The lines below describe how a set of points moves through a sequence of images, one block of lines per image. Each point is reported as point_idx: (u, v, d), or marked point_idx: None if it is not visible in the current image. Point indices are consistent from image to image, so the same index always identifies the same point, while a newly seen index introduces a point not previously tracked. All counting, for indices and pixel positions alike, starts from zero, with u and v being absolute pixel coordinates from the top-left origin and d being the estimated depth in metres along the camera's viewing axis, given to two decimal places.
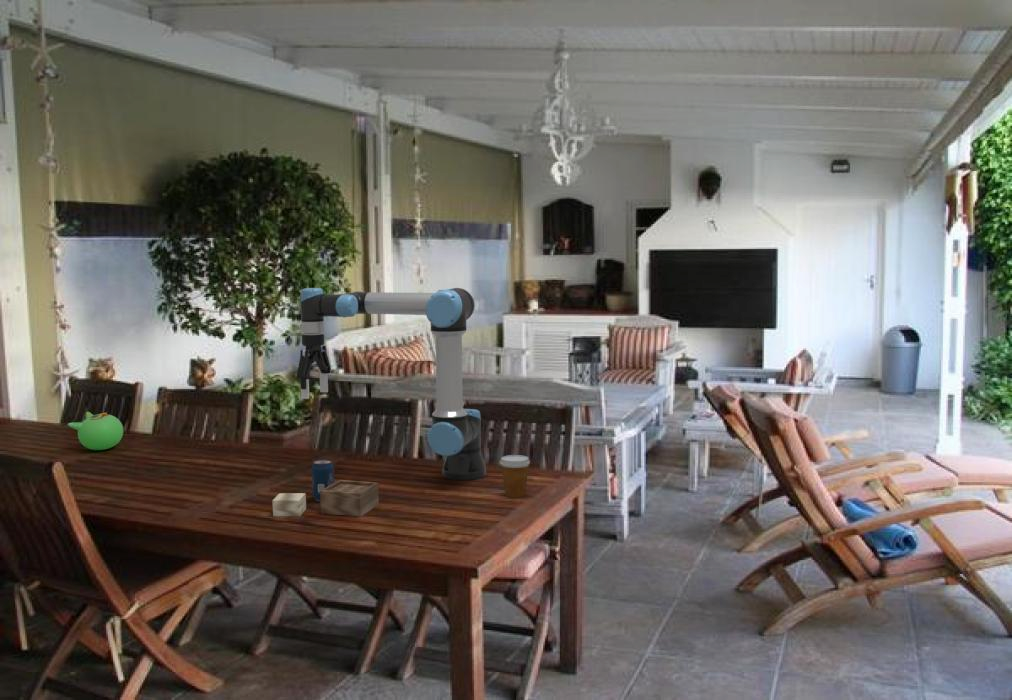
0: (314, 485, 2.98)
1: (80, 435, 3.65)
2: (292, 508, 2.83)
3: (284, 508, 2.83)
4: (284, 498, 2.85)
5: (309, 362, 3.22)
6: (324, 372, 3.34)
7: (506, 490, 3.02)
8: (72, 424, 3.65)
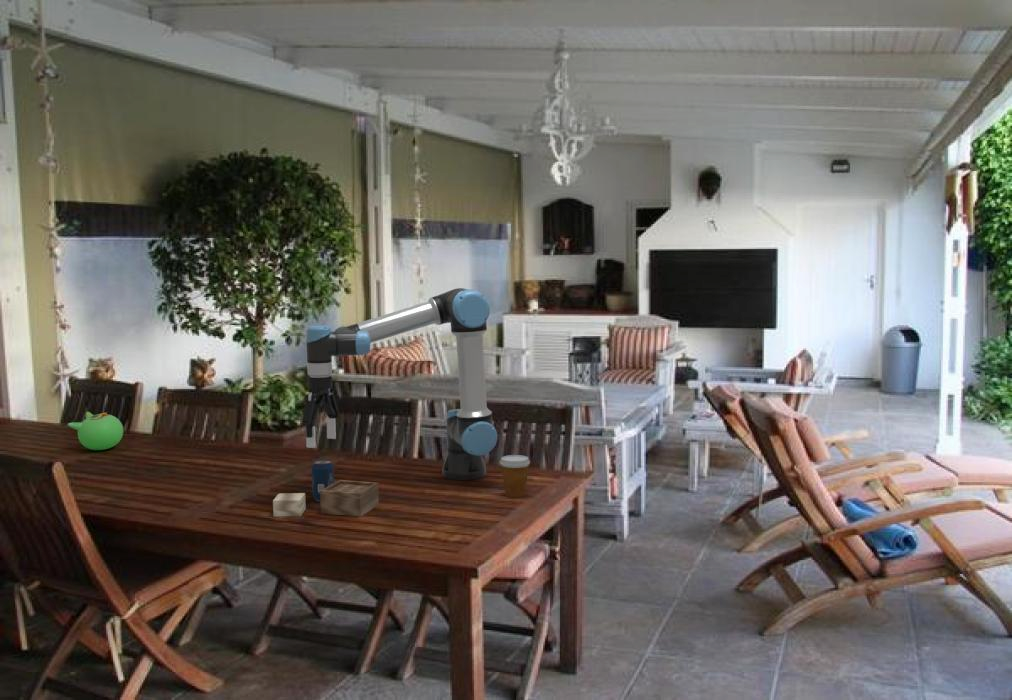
0: (314, 485, 2.98)
1: (80, 435, 3.65)
2: (293, 508, 2.83)
3: (284, 508, 2.83)
4: (284, 498, 2.85)
5: (315, 407, 2.93)
6: (332, 417, 3.05)
7: (506, 490, 3.02)
8: (72, 424, 3.65)
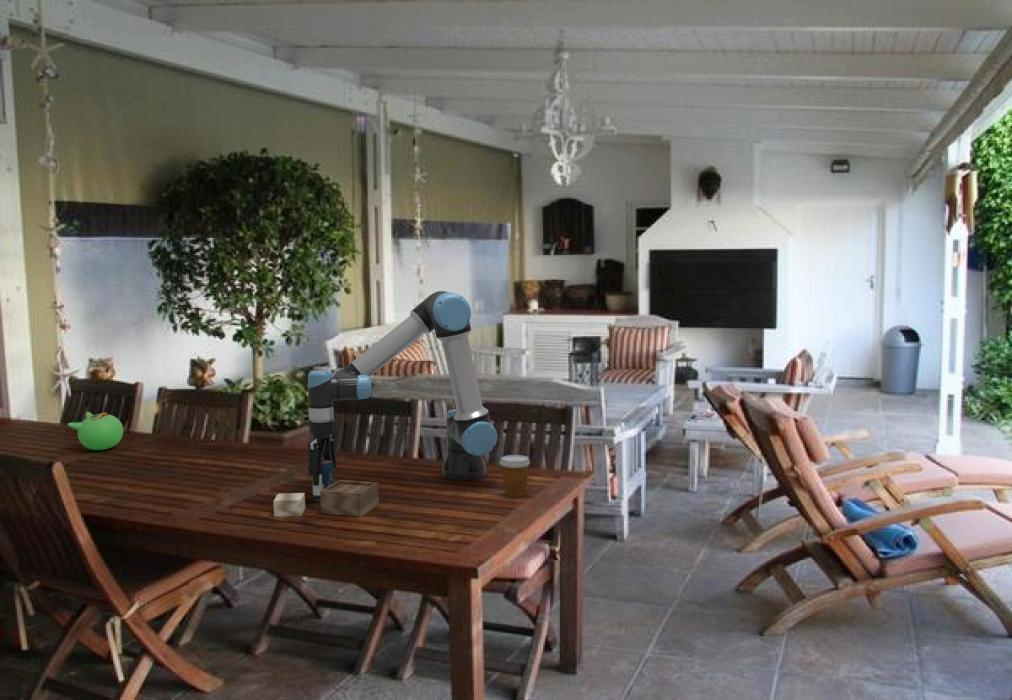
0: None
1: (80, 435, 3.65)
2: (293, 508, 2.83)
3: (285, 508, 2.83)
4: (284, 498, 2.85)
5: (319, 454, 2.96)
6: None
7: (506, 490, 3.02)
8: (72, 424, 3.65)
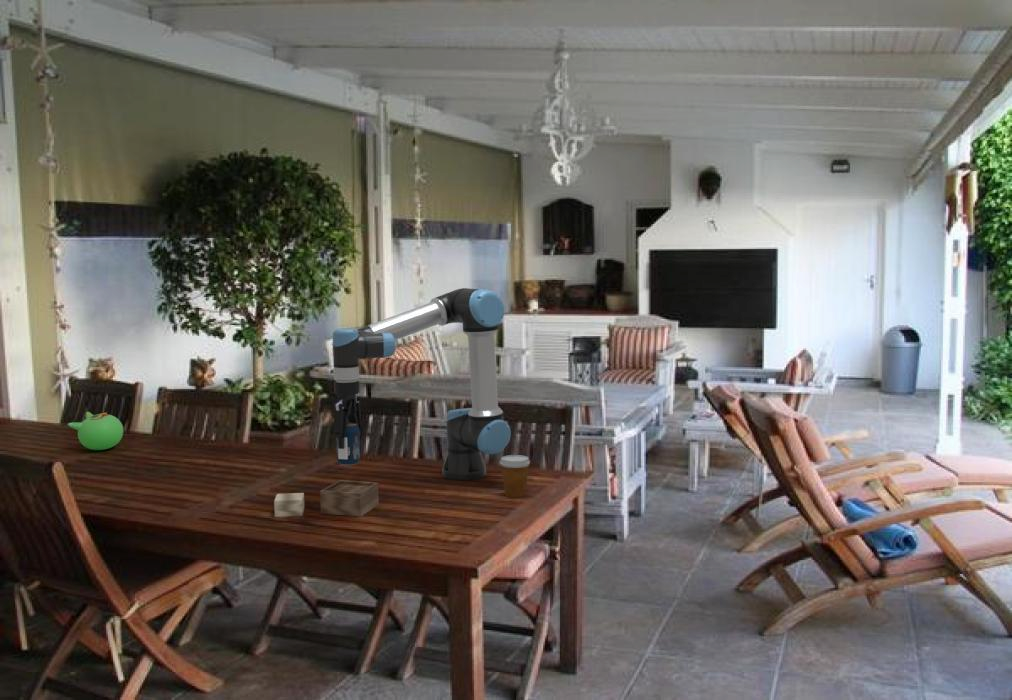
0: None
1: (80, 435, 3.65)
2: (294, 508, 2.83)
3: (286, 508, 2.83)
4: (285, 498, 2.85)
5: (344, 416, 2.83)
6: None
7: (506, 490, 3.02)
8: (72, 424, 3.65)
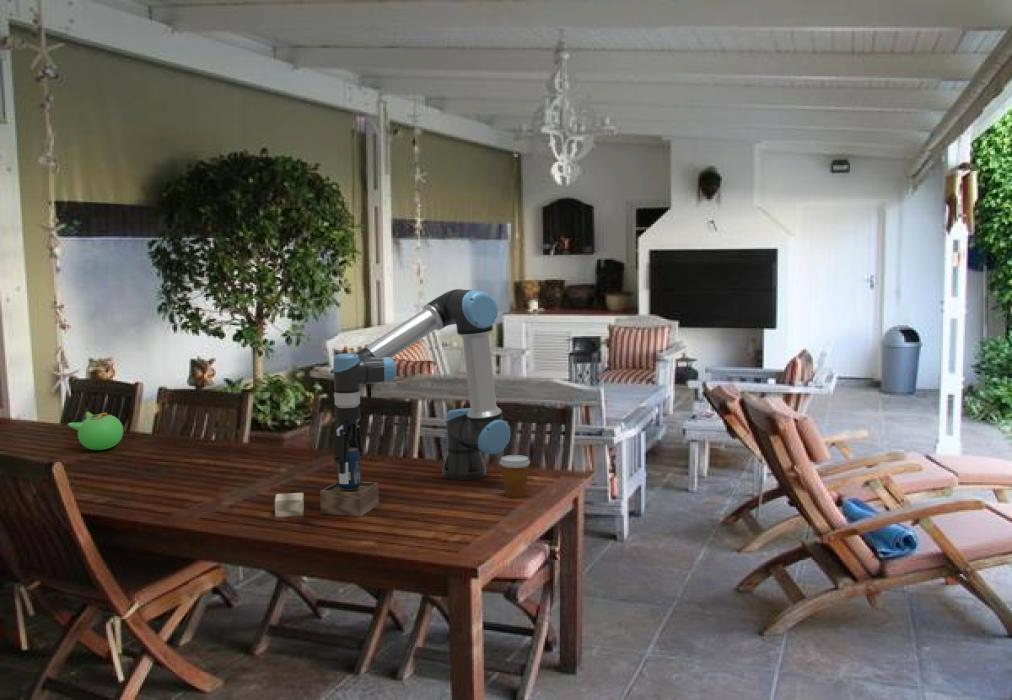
0: None
1: (80, 435, 3.65)
2: (295, 508, 2.83)
3: (286, 508, 2.83)
4: (285, 498, 2.85)
5: (345, 441, 2.84)
6: None
7: (506, 490, 3.02)
8: (72, 424, 3.65)
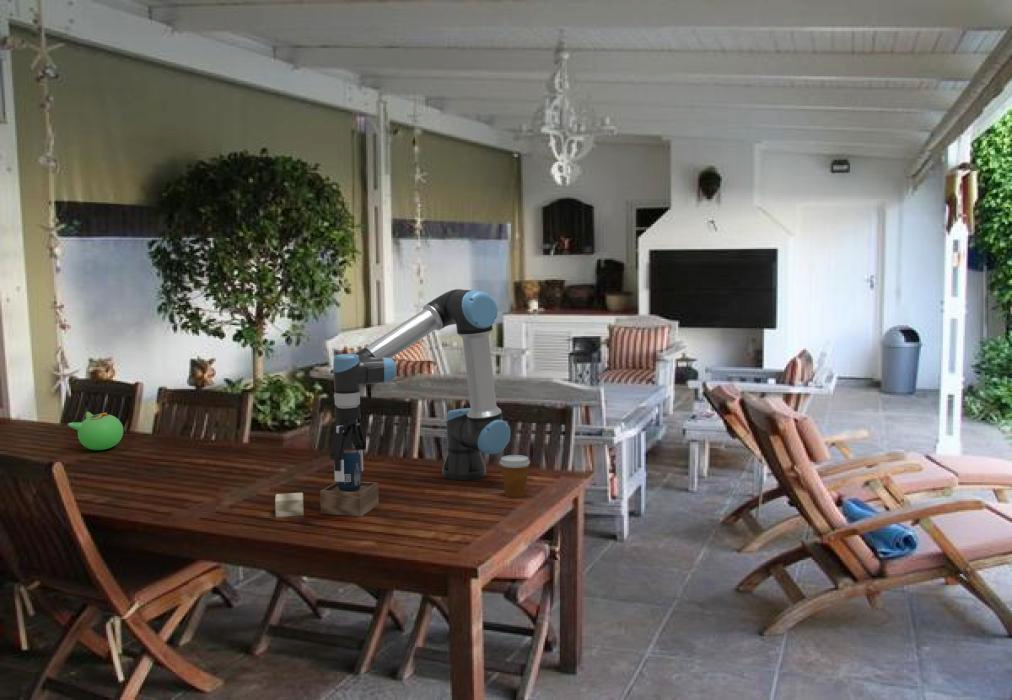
0: None
1: (80, 435, 3.65)
2: (295, 507, 2.83)
3: (287, 508, 2.83)
4: (285, 498, 2.85)
5: (344, 439, 2.83)
6: (359, 448, 2.94)
7: (506, 490, 3.02)
8: (72, 424, 3.65)
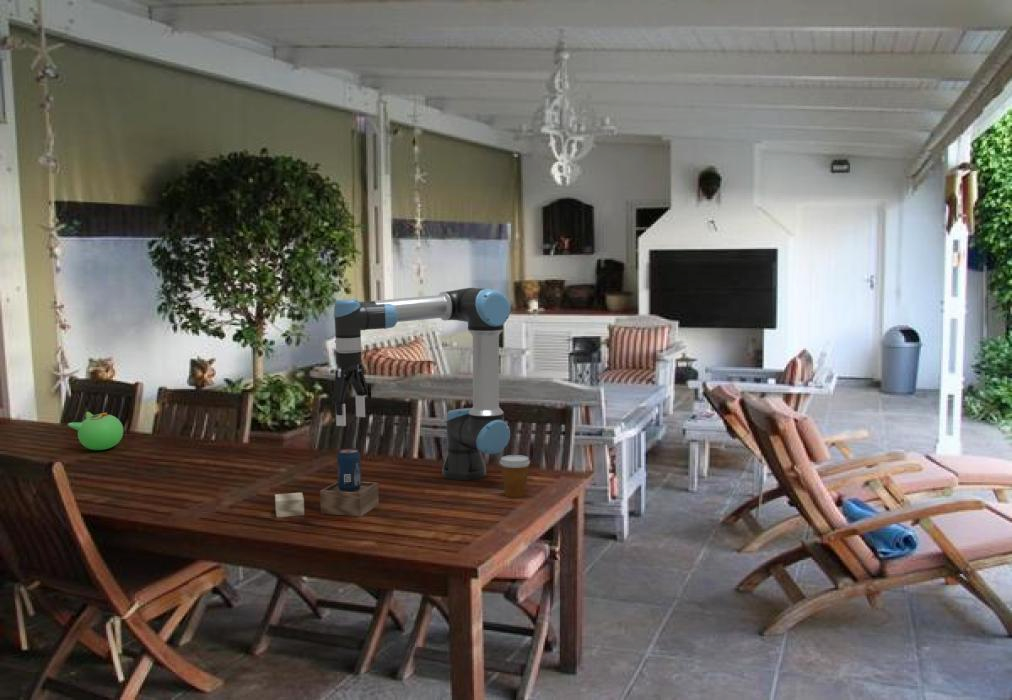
0: (340, 475, 2.86)
1: (80, 435, 3.65)
2: (296, 507, 2.83)
3: (288, 508, 2.83)
4: (285, 498, 2.85)
5: (345, 384, 2.82)
6: (360, 394, 2.94)
7: (506, 490, 3.02)
8: (72, 424, 3.65)
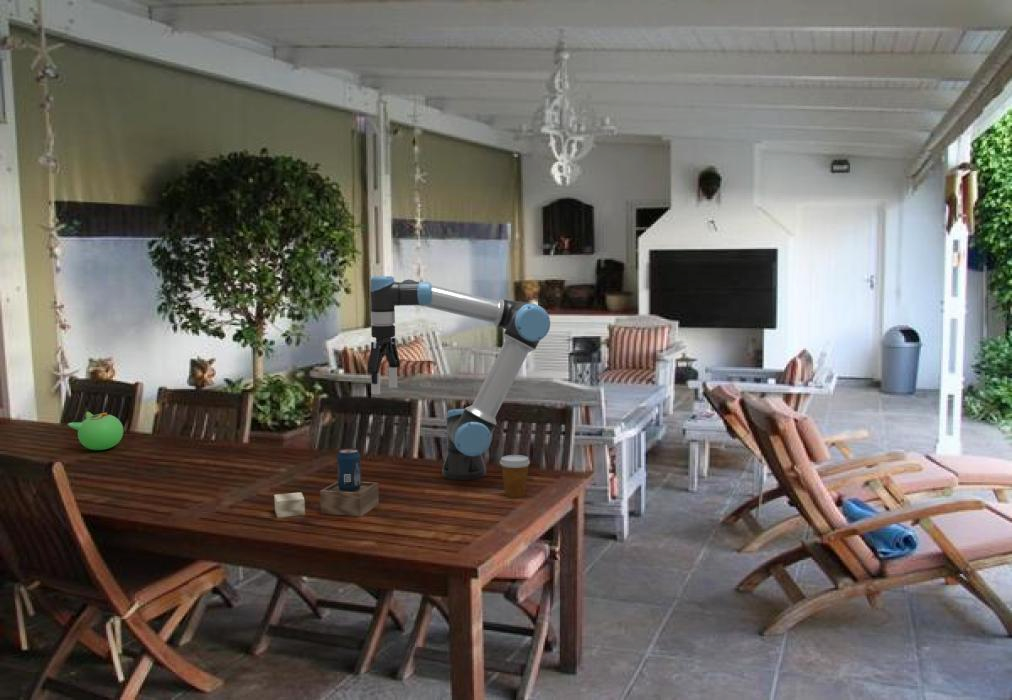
0: (340, 475, 2.86)
1: (80, 435, 3.65)
2: (297, 507, 2.83)
3: (288, 507, 2.83)
4: (286, 498, 2.85)
5: (380, 355, 3.01)
6: (393, 366, 3.13)
7: (506, 490, 3.02)
8: (72, 424, 3.65)
